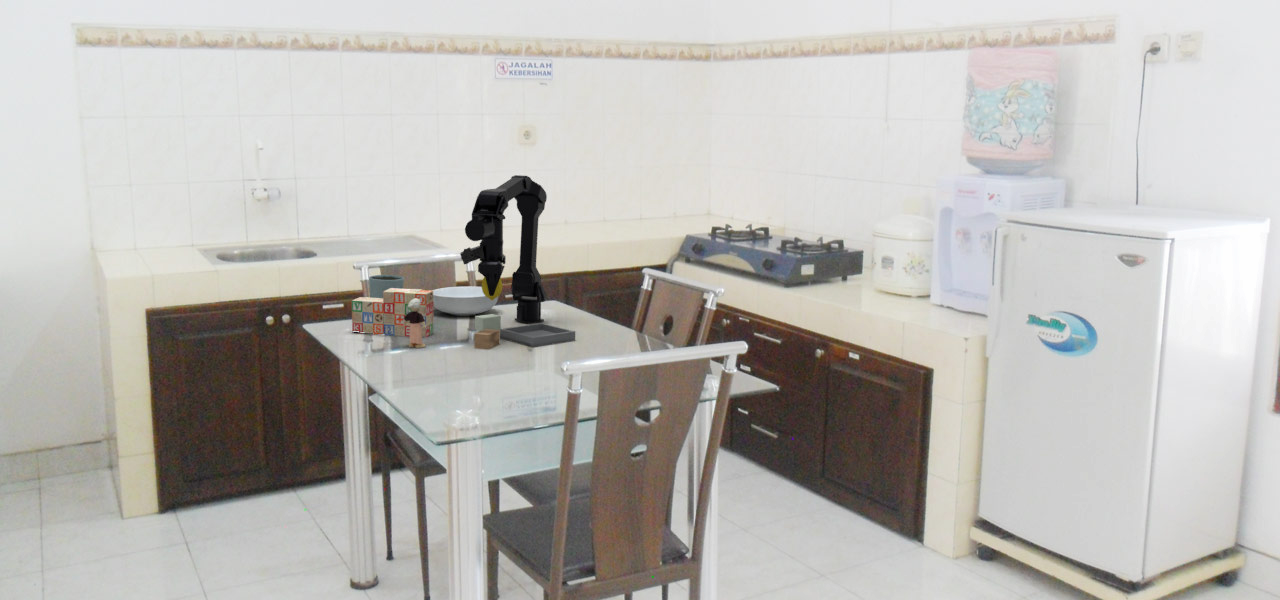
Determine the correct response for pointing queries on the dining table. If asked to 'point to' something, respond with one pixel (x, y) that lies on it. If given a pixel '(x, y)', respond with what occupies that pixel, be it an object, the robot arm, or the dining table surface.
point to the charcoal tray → (537, 334)
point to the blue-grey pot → (384, 284)
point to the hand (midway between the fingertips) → (492, 293)
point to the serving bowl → (462, 300)
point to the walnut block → (487, 339)
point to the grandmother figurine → (415, 323)
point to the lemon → (486, 292)
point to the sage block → (487, 322)
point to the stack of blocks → (391, 312)
